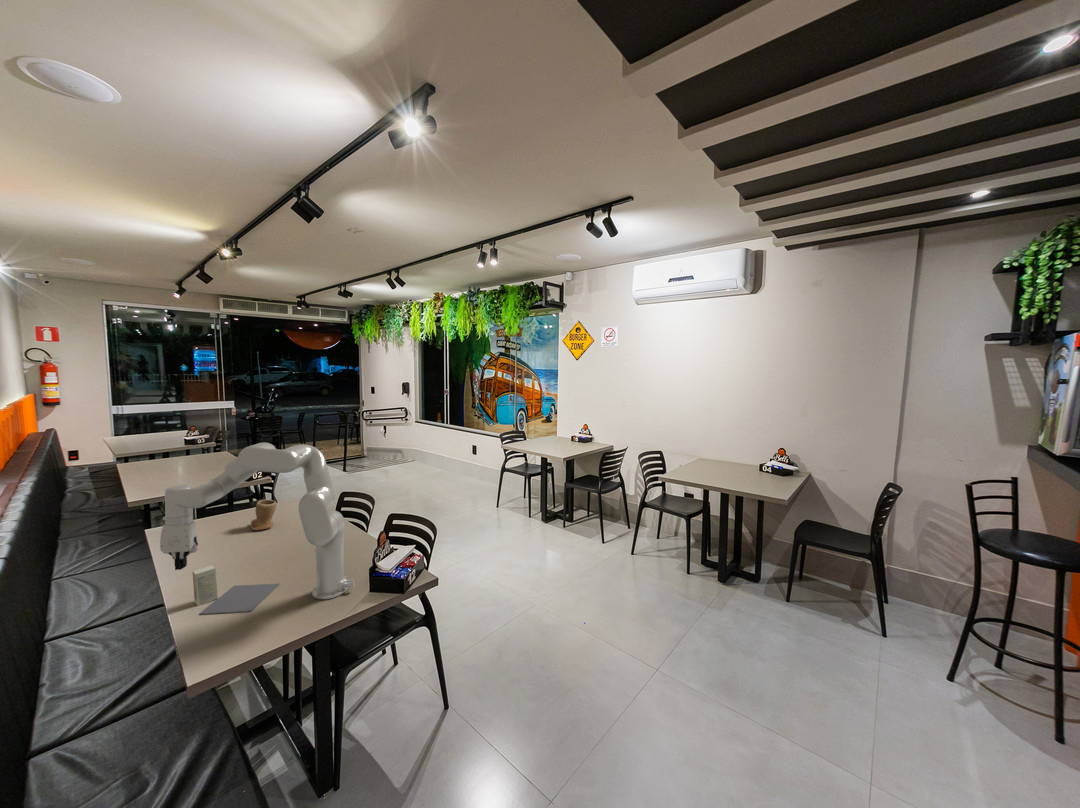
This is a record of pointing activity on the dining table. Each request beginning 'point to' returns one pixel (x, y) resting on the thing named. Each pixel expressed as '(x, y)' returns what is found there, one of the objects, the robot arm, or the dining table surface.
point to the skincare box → (205, 585)
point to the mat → (240, 599)
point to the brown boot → (264, 515)
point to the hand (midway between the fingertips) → (180, 568)
